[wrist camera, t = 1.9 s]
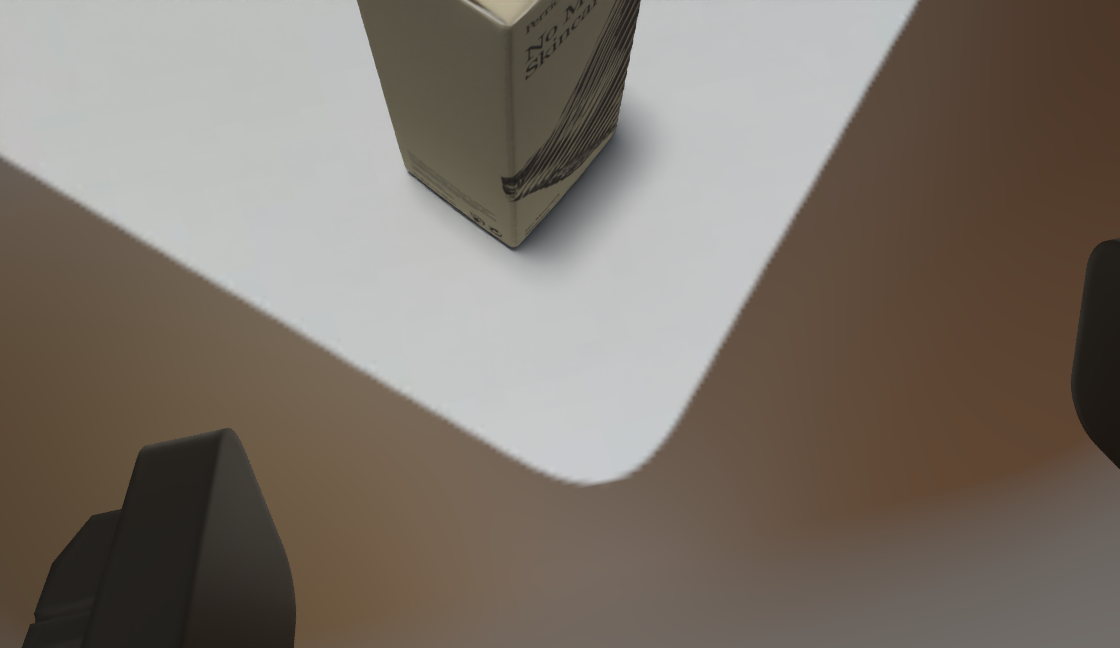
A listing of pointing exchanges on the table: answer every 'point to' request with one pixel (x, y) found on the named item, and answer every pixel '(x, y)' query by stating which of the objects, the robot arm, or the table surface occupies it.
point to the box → (501, 97)
